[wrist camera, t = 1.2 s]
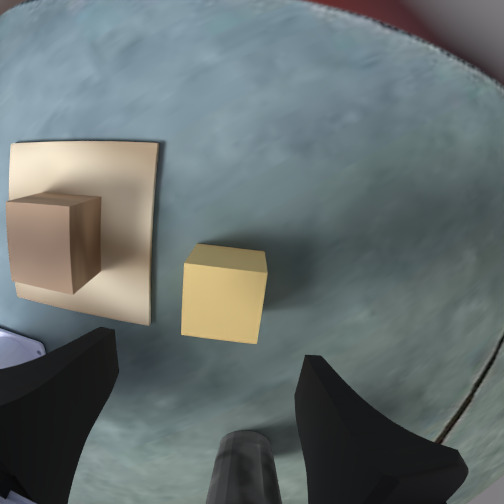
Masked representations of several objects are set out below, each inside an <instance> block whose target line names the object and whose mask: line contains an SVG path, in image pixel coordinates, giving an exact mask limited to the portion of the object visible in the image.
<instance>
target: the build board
mask: <svg viewBox="0 0 504 504" xmlns="http://www.w3.org/2000/svg"><path fill="white" fill-rule="evenodd" d="M159 144H160V143H146V142H118V141H58V142H32V143H15V144H11V151H10V169H9V201H10V200H14V199H17V198H21V197H25V196H29V195H34V194H38V193H58V194H73V195H86V196H100V197H101V272H100V273H99V274H97V275H96V276H95V277H94V278H92V279H91V280H90V281H89V282H88V283H86V284H85V285H84V286H83V287H82V288H81V289H79V290H78V291H77V292H76V293H75V294H74V295H71V294H66V293H62V292H57V291H53V290H48V289H44V288H39V287H35V286H31V285H27V284H22V283H18V282H15V285H16V292H17V297H21V298H24V299H28V300H32V301H36V302H40V303H43V304H47V305H51V306H56V307H60V308H64V309H68V310H73V311H77V312H82V313H86V314H91V315H95V316H100V317H105V318H110V319H115V320H120V321H125V322H131V323H136V324H142V325H147V326H149V325H150V324H151V252H152V229H153V212H154V197H155V185H156V173H157V163H158V153H159Z"/></svg>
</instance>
